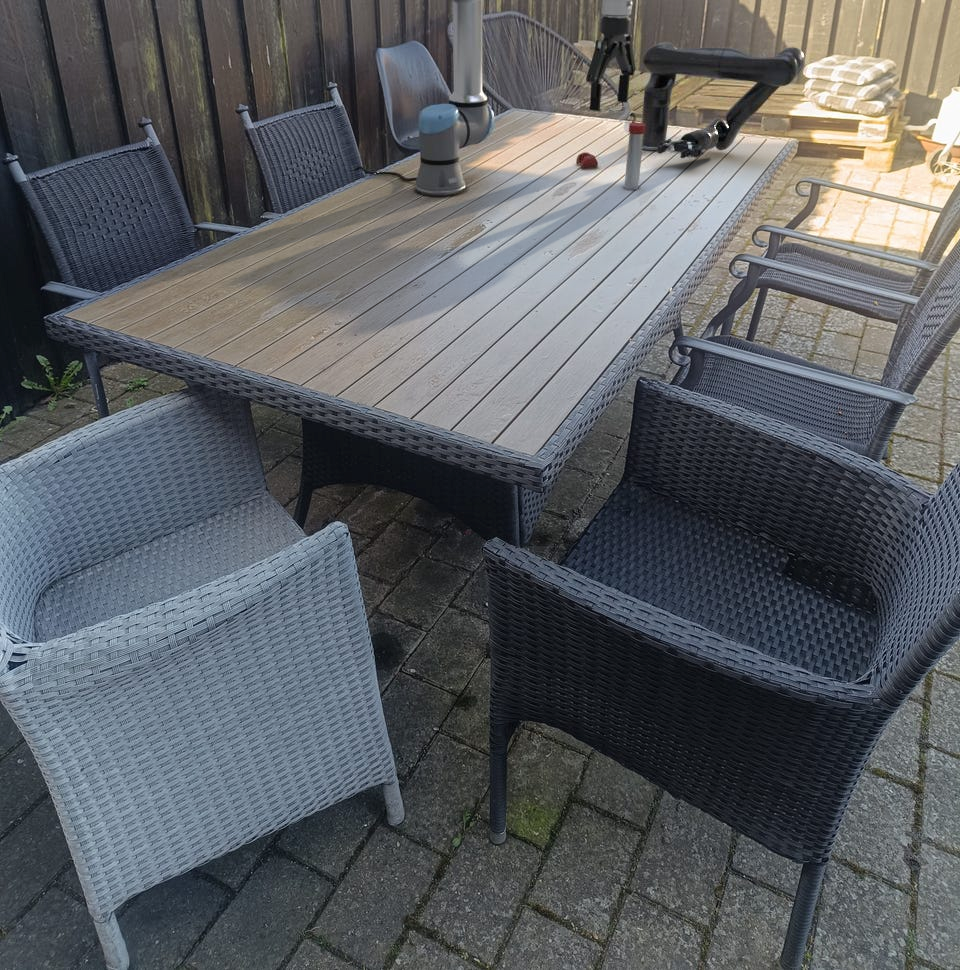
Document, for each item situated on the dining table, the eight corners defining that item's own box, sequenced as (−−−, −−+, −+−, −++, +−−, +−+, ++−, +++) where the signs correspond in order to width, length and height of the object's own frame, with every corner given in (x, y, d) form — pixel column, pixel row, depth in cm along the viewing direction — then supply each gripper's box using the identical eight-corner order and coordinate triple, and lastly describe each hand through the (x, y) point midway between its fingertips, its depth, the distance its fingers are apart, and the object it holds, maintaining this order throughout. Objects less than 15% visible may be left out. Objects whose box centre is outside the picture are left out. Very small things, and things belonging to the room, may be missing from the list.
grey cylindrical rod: (624, 189, 258) (631, 127, 248) (623, 185, 262) (629, 124, 251) (638, 189, 258) (645, 127, 248) (637, 185, 262) (643, 124, 251)
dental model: (591, 148, 281) (599, 155, 275) (590, 161, 283) (599, 168, 277) (575, 150, 280) (583, 157, 274) (574, 163, 282) (582, 170, 276)
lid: (629, 133, 249) (630, 126, 247) (627, 129, 253) (628, 122, 251) (645, 133, 249) (646, 126, 247) (643, 129, 252) (644, 122, 251)
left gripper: (601, 22, 204) (594, 115, 216) (654, 12, 219) (645, 100, 232) (575, 19, 208) (570, 111, 220) (629, 10, 223) (621, 96, 236)
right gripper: (678, 127, 281) (652, 136, 271) (716, 134, 273) (691, 144, 263) (675, 151, 285) (649, 160, 275) (713, 158, 277) (688, 168, 268)
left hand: (608, 106), depth 226 cm, fingers open, 13 cm apart
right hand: (670, 152), depth 269 cm, fingers open, 8 cm apart
